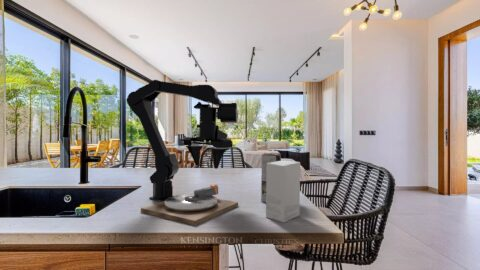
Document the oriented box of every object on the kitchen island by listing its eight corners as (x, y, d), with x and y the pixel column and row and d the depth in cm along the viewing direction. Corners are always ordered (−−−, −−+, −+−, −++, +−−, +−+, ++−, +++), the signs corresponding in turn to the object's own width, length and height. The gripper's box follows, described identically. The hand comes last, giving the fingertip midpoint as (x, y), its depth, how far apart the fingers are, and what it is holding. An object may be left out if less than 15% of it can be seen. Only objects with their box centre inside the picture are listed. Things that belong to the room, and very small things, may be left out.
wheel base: (140, 212, 80) (140, 208, 80) (188, 197, 98) (188, 193, 98) (195, 225, 69) (195, 220, 69) (238, 205, 87) (238, 202, 87)
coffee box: (279, 203, 91) (280, 155, 90) (260, 202, 92) (261, 154, 92) (281, 196, 100) (281, 153, 99) (263, 195, 101) (264, 152, 100)
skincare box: (282, 211, 82) (283, 159, 81) (301, 216, 77) (302, 161, 77) (264, 217, 76) (265, 162, 75) (283, 223, 71) (284, 164, 71)
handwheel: (188, 215, 72) (188, 199, 72) (153, 204, 82) (153, 190, 82) (234, 200, 87) (234, 187, 87) (200, 193, 97) (200, 181, 97)
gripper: (243, 123, 94) (242, 167, 94) (205, 122, 106) (204, 162, 106) (221, 122, 85) (220, 171, 86) (183, 121, 97) (182, 165, 97)
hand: (206, 167), depth 94 cm, fingers open, 9 cm apart
